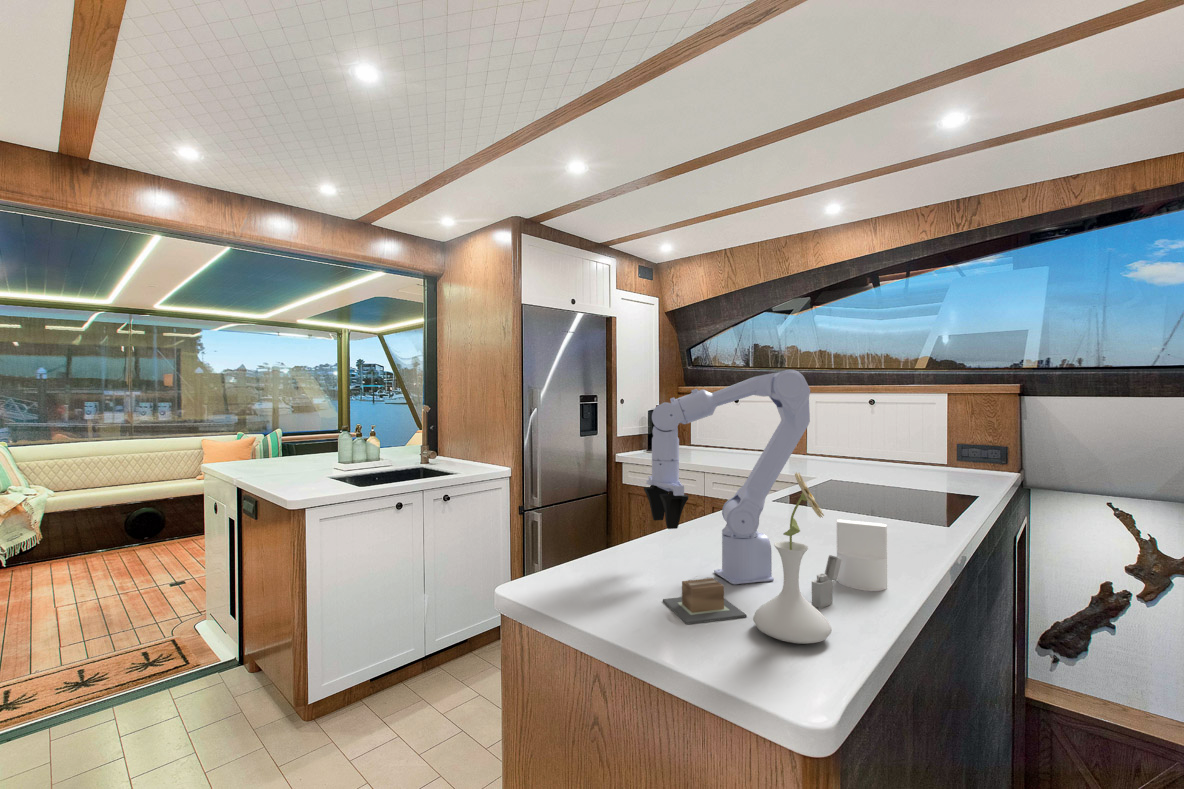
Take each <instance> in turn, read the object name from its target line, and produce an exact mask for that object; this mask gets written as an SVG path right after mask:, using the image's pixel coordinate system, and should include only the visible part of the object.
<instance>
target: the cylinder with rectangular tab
mask: <svg viewBox="0 0 1184 789" xmlns="http://www.w3.org/2000/svg"><path fill="white" fill-rule="evenodd" d="M836 557H838V558H840V559H841V564H840V568H839V573H838V577H837V581H836V582H838V583H839V584H840V585H843V586H845V587H847V588H851V589H855V590H861V591H867V592H879V591H885V590H886V589H888V525H887V524H886V523H884V522H883V523H880V522H870V521H862V520H849V519H840V518H837V520H836Z"/></svg>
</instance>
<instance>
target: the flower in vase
mask: <svg viewBox="0 0 1184 789" xmlns="http://www.w3.org/2000/svg"><path fill="white" fill-rule="evenodd" d="M794 477H795V480H796V482H797V484H798V486H799V488H800V490H801V494H800V497H799V499H798V501H797V503H796V504H795V506H794V509H793V511H792V513H791V517H790V520H789V522H790V523H789V529H788V530H787V531H785V532H784V533H783V535H784V536H787V537H789V541H787V540H786V541H783V540H782V541H777V542H774V544H773V545H774V547H775V549H776V550H777V553H778V554H779V556H780V559H781V564H782V569H783V570H782V572H783V585H782V590H781V591H780V592H779V594H778V595H777V596H775V597H774V598H772V599H770V600H769V601H767V602H766V603H764V604H762V605H761V606H760V607H758V609H756V611H755V612H754V615H753V619H752V620H753V622H754V625H755V626H756V628H757V629H758V630H759V631H760V632H761V633H763V634H765V635H766V636H769V637H770V638H771V637H772V638H774V639H777V640H778V641H782V642H787V643H791V644H801V645H802V644H805V645H806V644H815V643H819V642H823V641H825V640H826V639H827V638H828V637H829V636H830V635H831V633H832V627H831V624H830V622H829V620H828V619H827V618H826V616H824V615H823V613H822V612H820V611H819V610H818V609H817V607H814V606H812V603H810V602H809V601H808V600H807V599H806V598H805V597H804V596H803V594H802V592H801V589H800V588H801V587H800V581H799V580H800V568H801V564H802V560H803V557H804V555H805V553H807V551H808V550H809V546H808V545H806V544H804V543H801V542H795V541H793V536H794V535H796V534H799V533H800V532H801V529H800V527H799V525H798V523H797V520H796V519H795V518H794V517H795V513H796V511H797V509H798V507H799V505H800V503H801V502H802V501H804V502H805V501H806V502H808V505H810V507H811V509H812V510H813V512H814V513H815V514H816V516H818V517H819V519H821V518H823V517H824V516H825V515H824V512H823V511H822V508H821V507H820V506H819V504H818V503H817V502H816V499H815V497H814V496H813V494H812V492H811V491H810V489H809V487H808V485H807V483H806V481H804V479H803V476H802V475H801V473H800V472H797V471H796V472H795V473H794Z"/></svg>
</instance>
